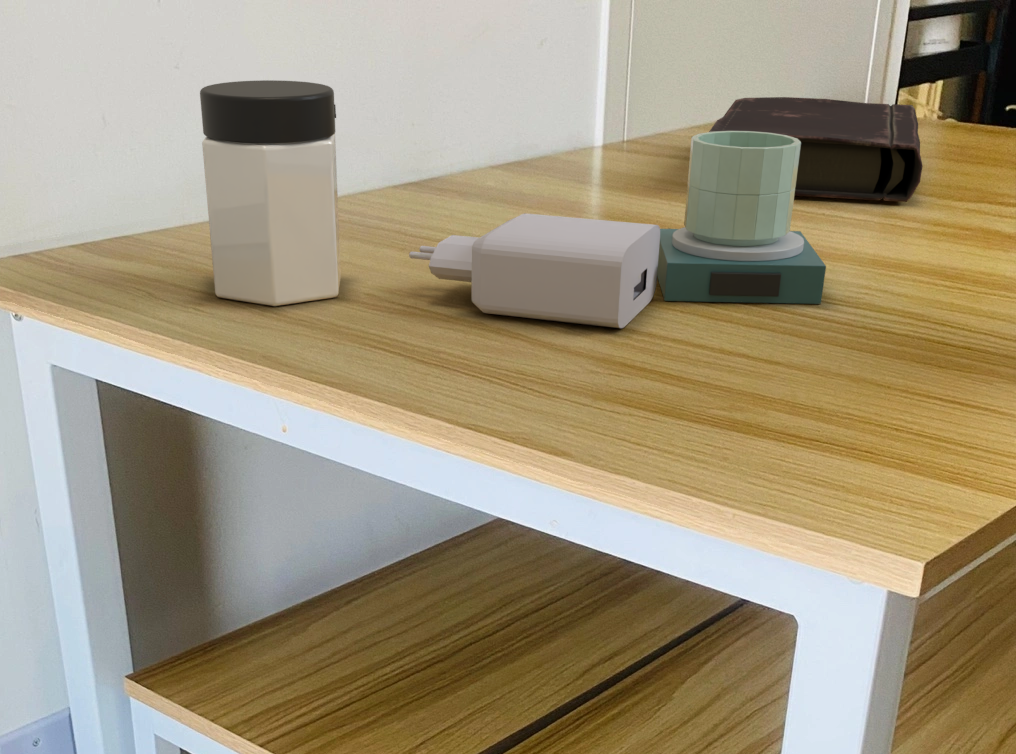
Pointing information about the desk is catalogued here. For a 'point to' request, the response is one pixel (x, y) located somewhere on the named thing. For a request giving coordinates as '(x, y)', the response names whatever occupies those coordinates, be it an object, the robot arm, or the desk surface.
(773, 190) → the cup
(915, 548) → the desk surface
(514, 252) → the charger
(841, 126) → the diary
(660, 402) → the desk surface
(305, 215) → the jar
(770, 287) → the scale
